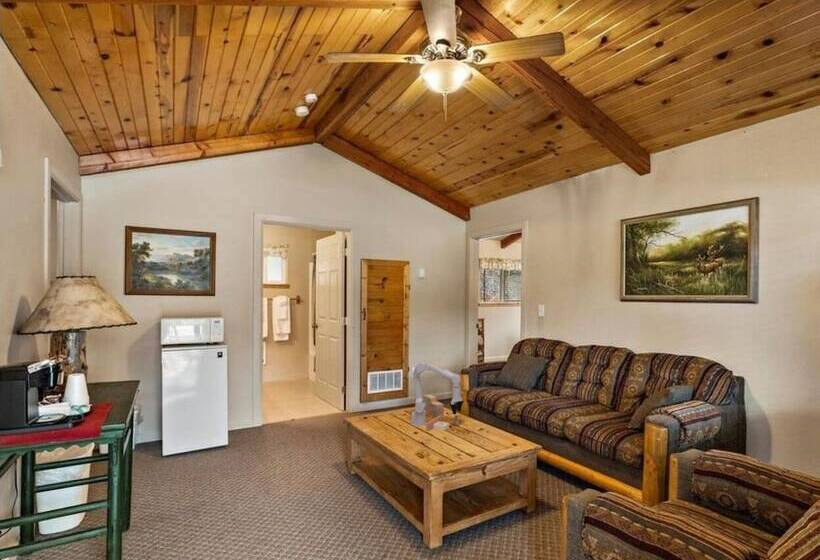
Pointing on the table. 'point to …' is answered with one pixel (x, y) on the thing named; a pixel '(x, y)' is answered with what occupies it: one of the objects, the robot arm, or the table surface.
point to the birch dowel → (456, 421)
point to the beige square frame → (441, 425)
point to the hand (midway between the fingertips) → (456, 412)
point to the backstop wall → (433, 422)
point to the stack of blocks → (433, 405)
